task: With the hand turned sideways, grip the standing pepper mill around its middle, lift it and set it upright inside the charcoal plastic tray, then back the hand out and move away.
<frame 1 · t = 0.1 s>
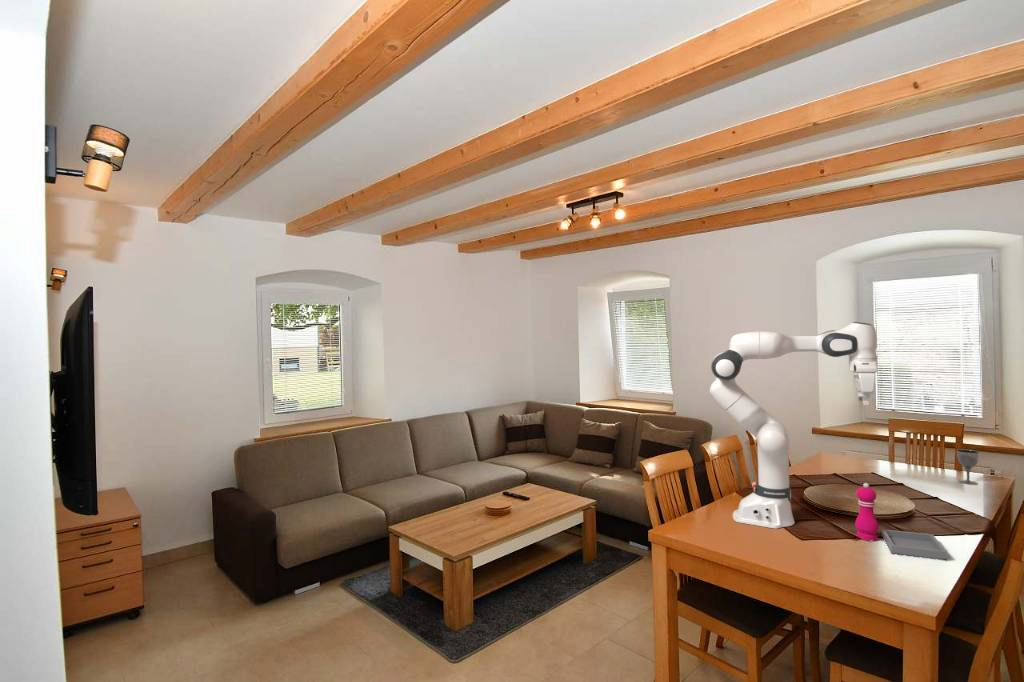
hand: (863, 402, 202), 48 cm above the table, tool pointing down, fingers open, 8 cm apart
pepper mill: (867, 538, 196), on the table
wine glass: (968, 483, 256), on the table
tray: (912, 548, 187), on the table
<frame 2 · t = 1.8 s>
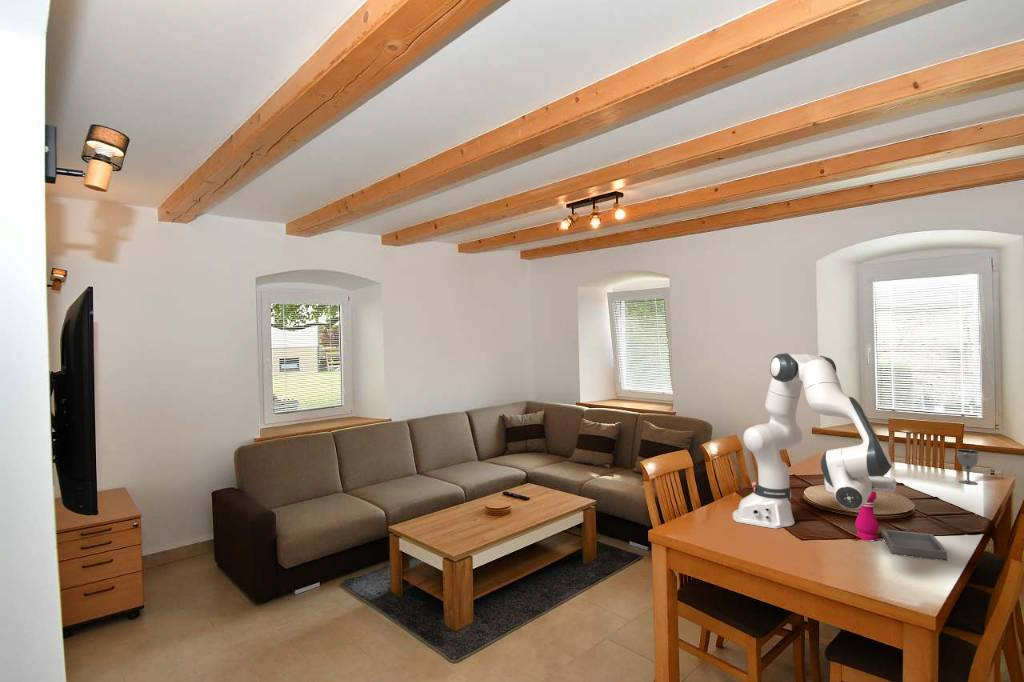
hand: (861, 476, 187), 25 cm above the table, tool horizontal, fingers open, 8 cm apart
nothing on the table moved.
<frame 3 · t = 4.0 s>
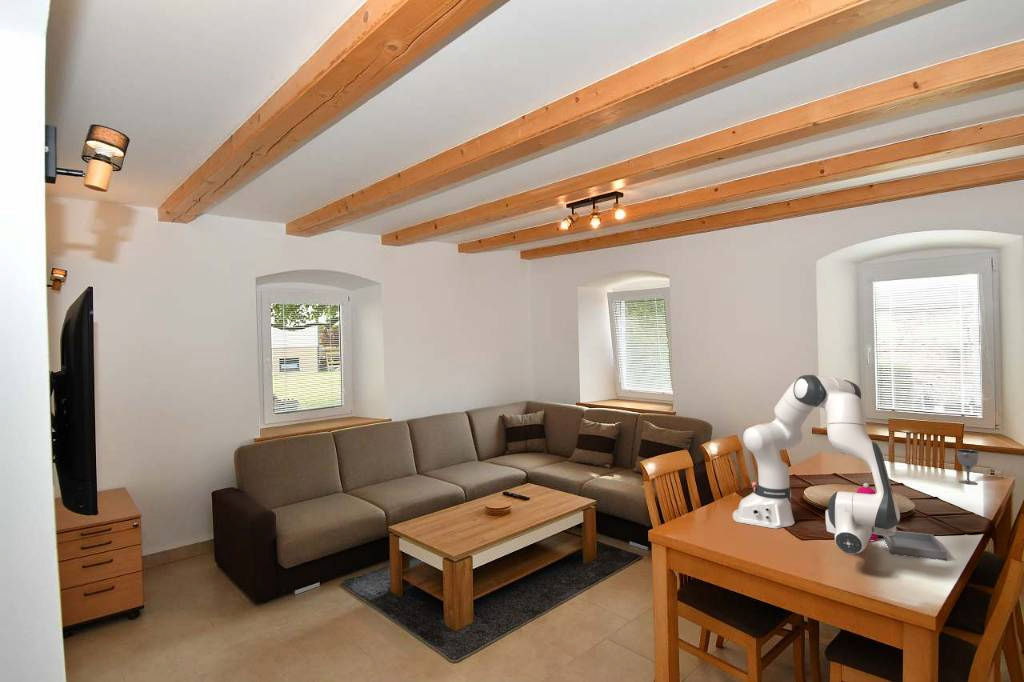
hand: (862, 515, 189), 11 cm above the table, tool horizontal, fingers open, 8 cm apart
nothing on the table moved.
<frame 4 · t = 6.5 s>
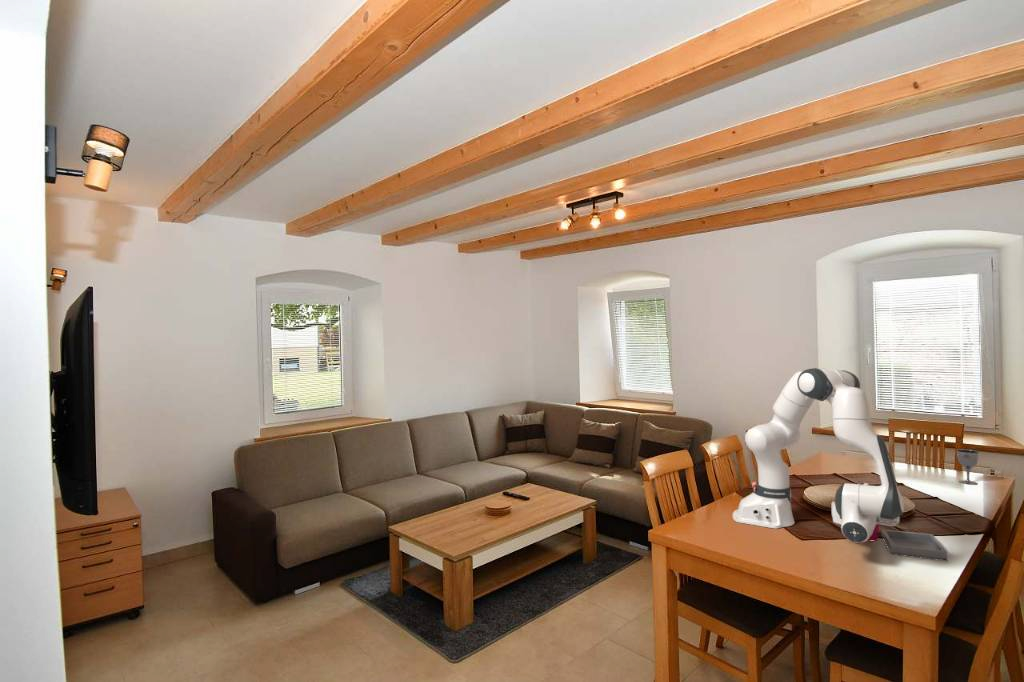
hand: (866, 507, 197), 11 cm above the table, tool horizontal, fingers closed on pepper mill, 5 cm apart
pepper mill: (867, 538, 196), on the table, touching gripper
everything else where it was.
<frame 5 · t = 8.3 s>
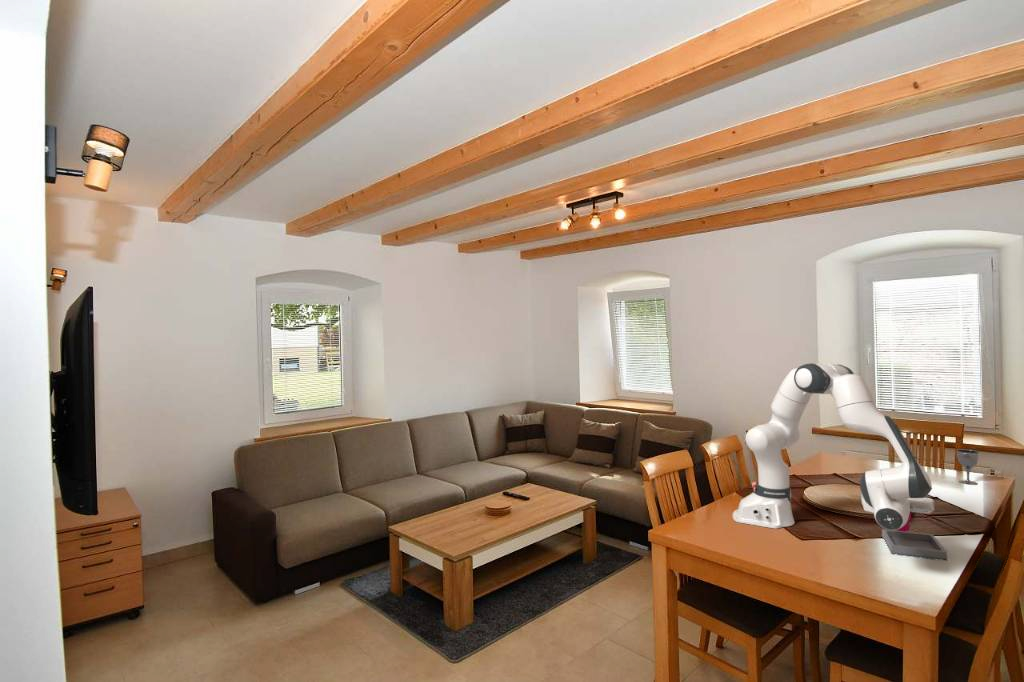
hand: (898, 495, 190), 17 cm above the table, tool horizontal, fingers closed on pepper mill, 5 cm apart
pepper mill: (898, 528, 189), point 6 cm above the table, touching gripper
everything else where it was.
when the fingers open (13 cm above the table, at t = 10.1 s): pepper mill stays where it is, resting on tray.
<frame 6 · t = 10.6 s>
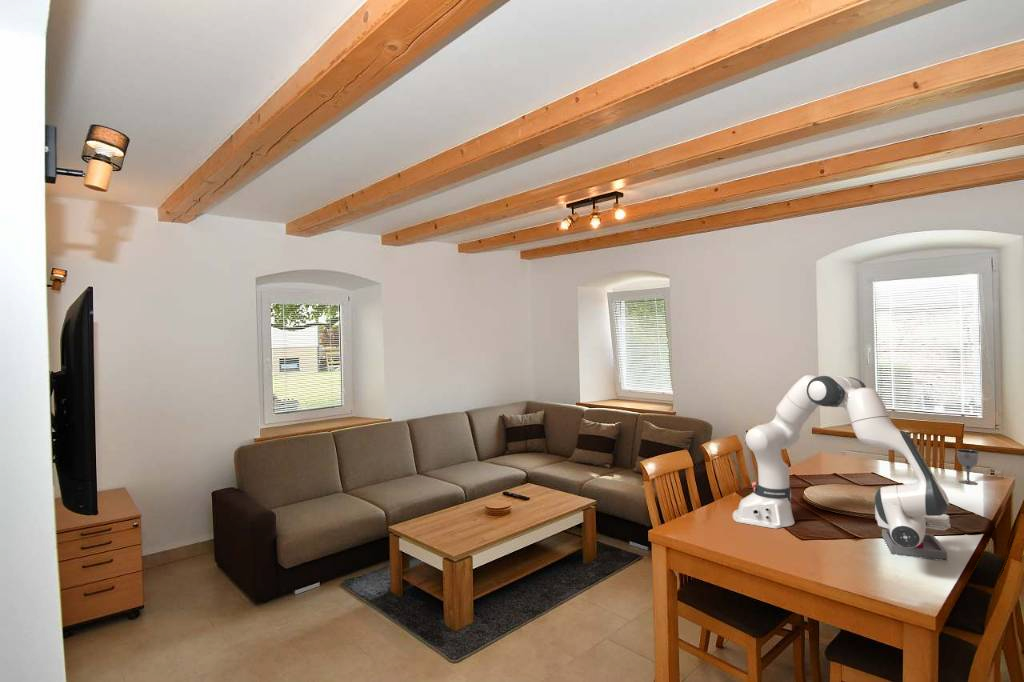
hand: (912, 509, 187), 13 cm above the table, tool horizontal, fingers open, 8 cm apart
pepper mill: (912, 546, 187), resting on tray
everything else where it was.
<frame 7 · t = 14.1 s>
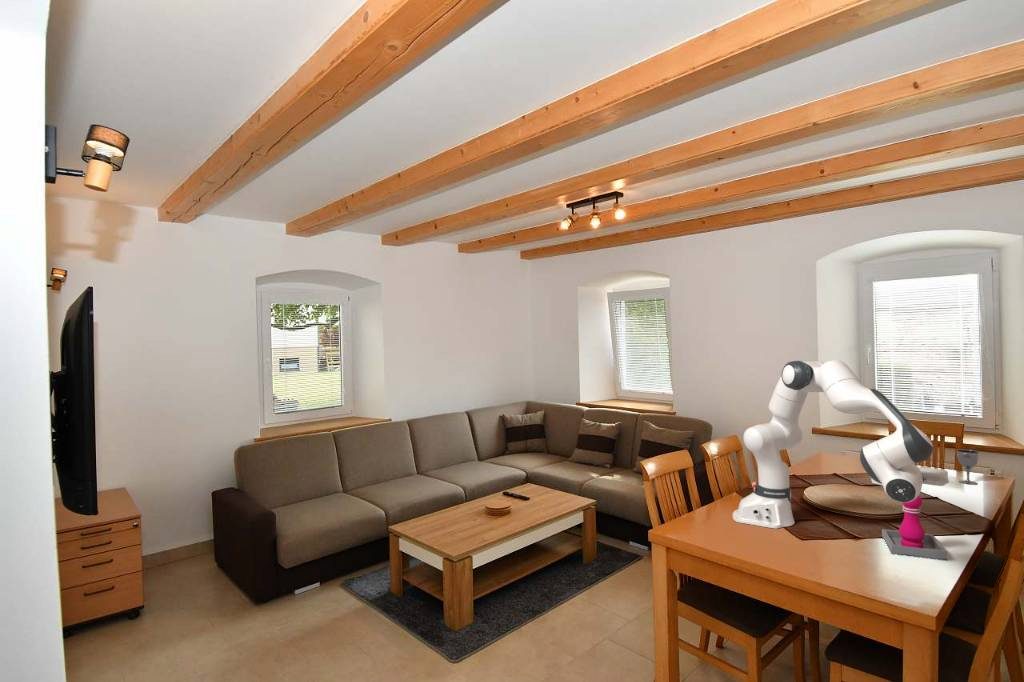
hand: (908, 467, 177), 31 cm above the table, tool horizontal, fingers open, 8 cm apart
nothing on the table moved.
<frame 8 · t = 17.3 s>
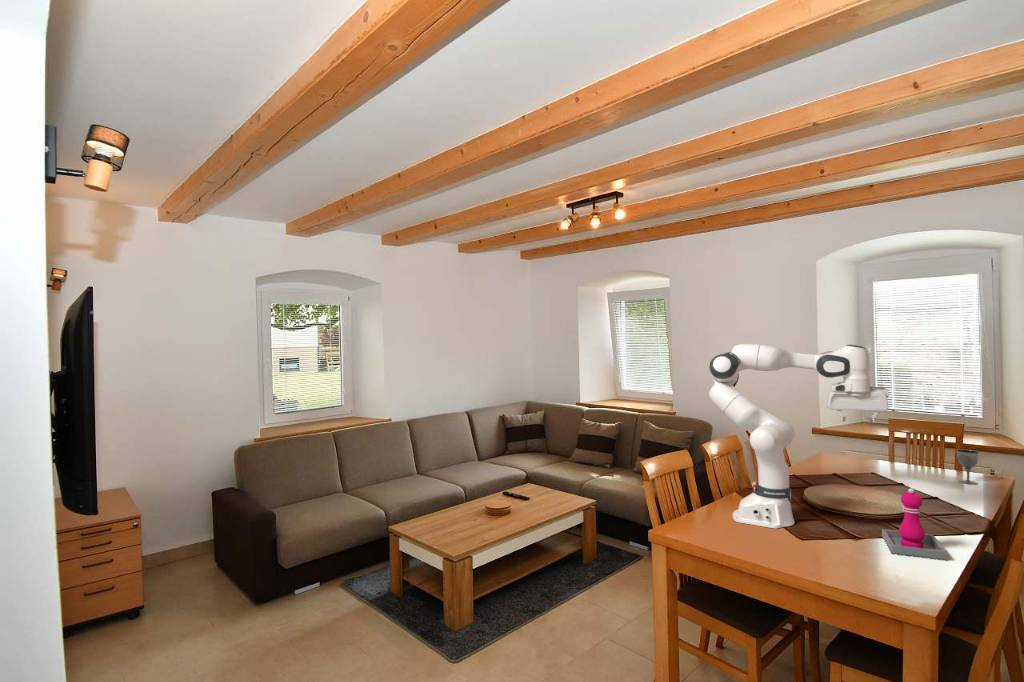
hand: (857, 421, 212), 39 cm above the table, tool pointing down, fingers open, 8 cm apart
nothing on the table moved.
at the end: pepper mill inside the target area on the tray (0.1 cm from its centre), point 0.4 cm above the tray's base; pepper mill tilted 0°; the gripper is holding nothing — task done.
